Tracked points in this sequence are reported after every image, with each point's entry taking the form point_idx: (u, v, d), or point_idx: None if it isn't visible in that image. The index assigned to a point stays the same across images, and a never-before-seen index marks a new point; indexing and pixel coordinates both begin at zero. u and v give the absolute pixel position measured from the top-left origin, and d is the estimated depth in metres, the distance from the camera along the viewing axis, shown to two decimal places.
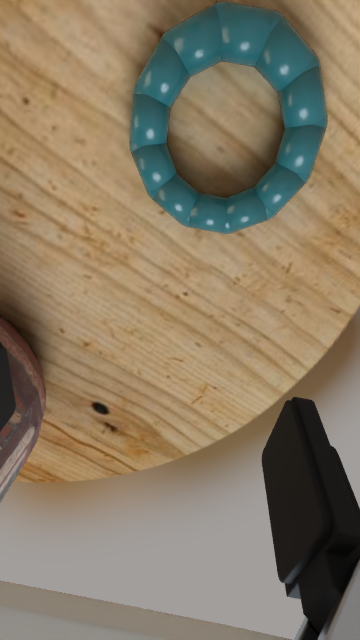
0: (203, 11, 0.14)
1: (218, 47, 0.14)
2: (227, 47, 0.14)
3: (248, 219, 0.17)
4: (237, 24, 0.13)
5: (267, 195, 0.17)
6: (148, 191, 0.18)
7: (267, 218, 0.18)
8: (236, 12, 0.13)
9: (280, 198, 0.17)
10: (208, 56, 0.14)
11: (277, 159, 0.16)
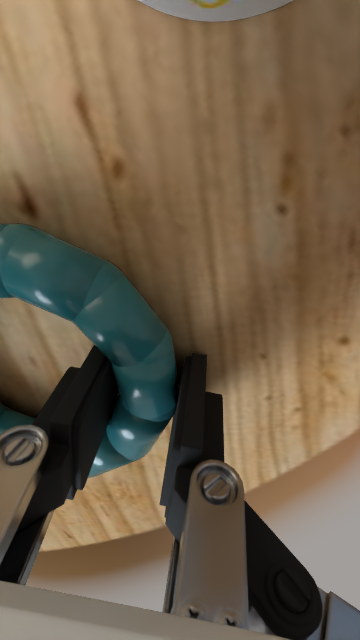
0: (76, 267, 0.08)
1: (68, 317, 0.08)
2: (79, 328, 0.09)
3: None
4: (103, 326, 0.08)
5: None
6: None
7: None
8: (113, 312, 0.08)
9: None
10: (51, 312, 0.09)
11: None
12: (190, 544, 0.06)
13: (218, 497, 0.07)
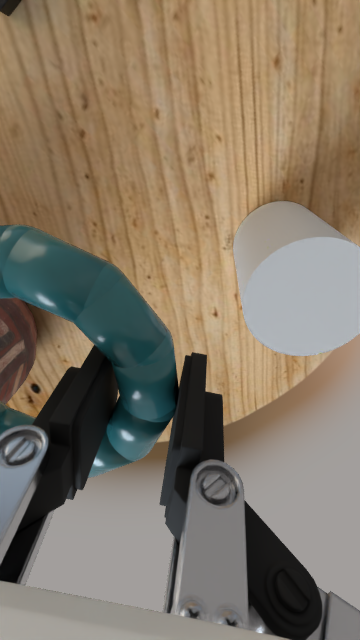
0: (78, 268, 0.08)
1: (69, 318, 0.09)
2: (80, 329, 0.09)
3: None
4: (104, 327, 0.08)
5: None
6: None
7: None
8: (113, 313, 0.08)
9: None
10: (52, 313, 0.09)
11: None
12: (190, 544, 0.06)
13: (217, 497, 0.07)
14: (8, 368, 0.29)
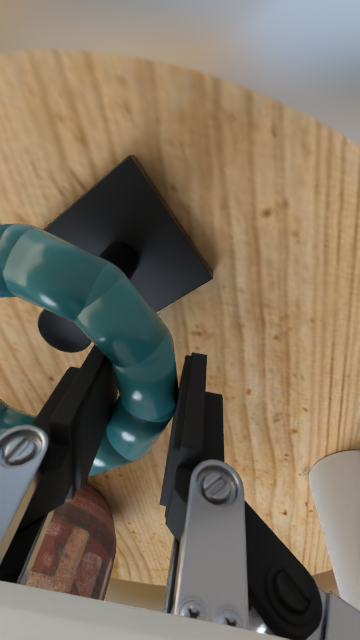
0: (78, 267, 0.08)
1: (69, 317, 0.09)
2: (80, 328, 0.09)
3: None
4: (104, 326, 0.08)
5: None
6: None
7: None
8: (113, 313, 0.08)
9: None
10: (52, 312, 0.09)
11: None
12: (190, 544, 0.06)
13: (218, 497, 0.07)
14: (103, 598, 0.31)
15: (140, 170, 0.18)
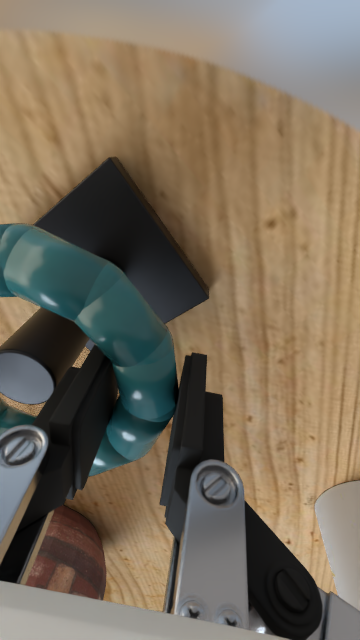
0: (78, 267, 0.08)
1: (69, 316, 0.09)
2: (81, 327, 0.09)
3: None
4: (104, 326, 0.08)
5: None
6: None
7: None
8: (113, 312, 0.08)
9: None
10: (53, 312, 0.09)
11: None
12: (190, 544, 0.06)
13: (217, 497, 0.07)
14: None
15: (123, 174, 0.15)
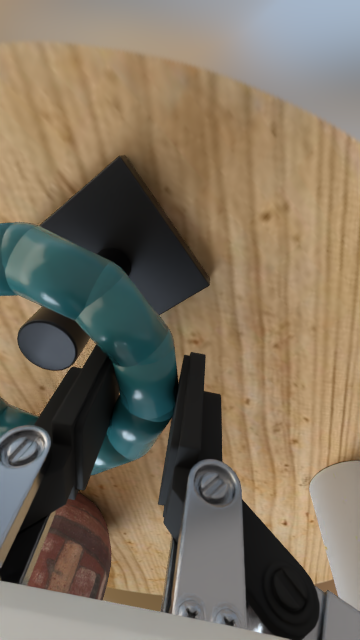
0: (80, 266, 0.08)
1: (70, 316, 0.09)
2: (81, 327, 0.09)
3: None
4: (105, 325, 0.08)
5: None
6: None
7: None
8: (115, 312, 0.08)
9: None
10: (54, 311, 0.09)
11: None
12: (187, 543, 0.06)
13: (215, 496, 0.07)
14: None
15: (132, 171, 0.17)
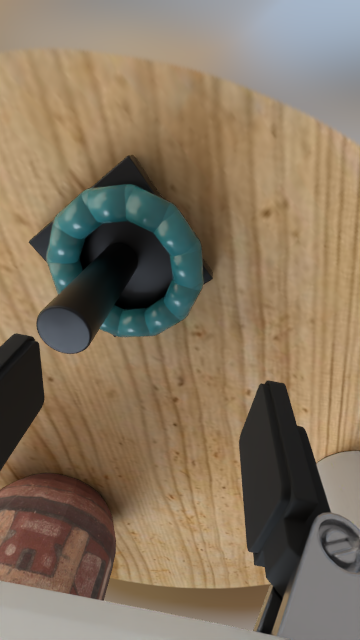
0: (159, 202, 0.17)
1: (152, 229, 0.18)
2: (158, 234, 0.18)
3: (103, 328, 0.21)
4: (170, 231, 0.17)
5: (124, 326, 0.21)
6: (46, 255, 0.19)
7: (116, 335, 0.22)
8: (175, 224, 0.17)
9: (130, 333, 0.21)
10: (144, 227, 0.18)
11: (146, 310, 0.21)
12: (339, 625, 0.05)
13: (341, 558, 0.06)
14: (102, 599, 0.31)
15: (139, 170, 0.18)
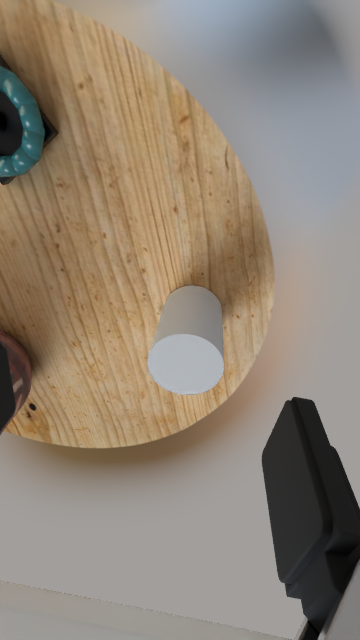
0: (2, 69, 0.29)
1: (1, 88, 0.30)
2: (5, 91, 0.30)
3: None
4: (11, 88, 0.29)
5: None
6: None
7: None
8: (13, 83, 0.29)
9: (3, 170, 0.33)
10: None
11: (13, 154, 0.33)
12: None
13: None
14: None
15: None
